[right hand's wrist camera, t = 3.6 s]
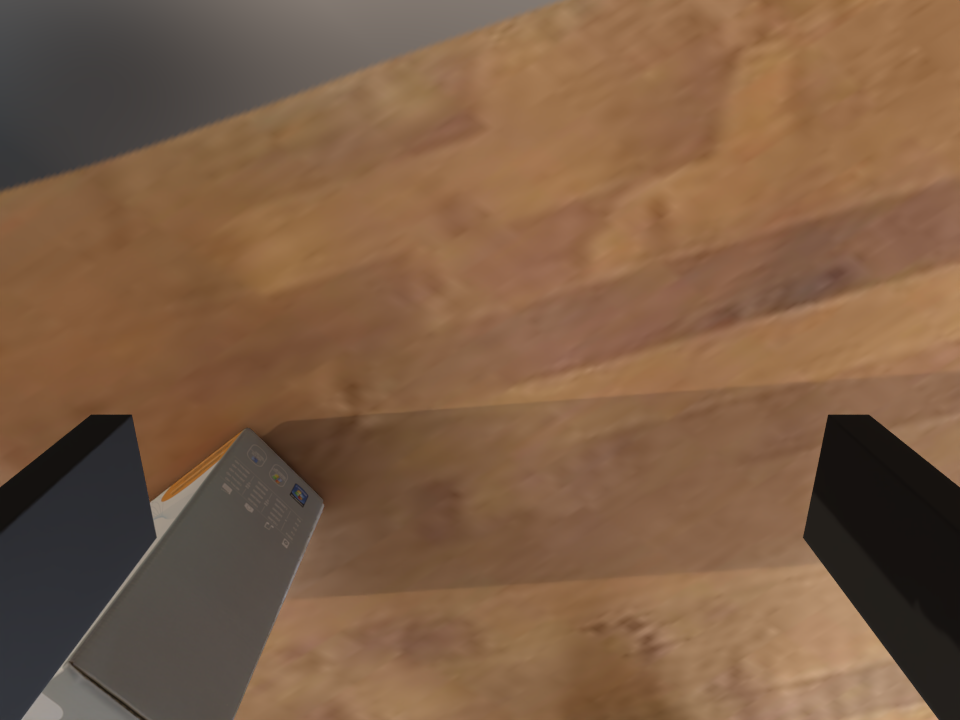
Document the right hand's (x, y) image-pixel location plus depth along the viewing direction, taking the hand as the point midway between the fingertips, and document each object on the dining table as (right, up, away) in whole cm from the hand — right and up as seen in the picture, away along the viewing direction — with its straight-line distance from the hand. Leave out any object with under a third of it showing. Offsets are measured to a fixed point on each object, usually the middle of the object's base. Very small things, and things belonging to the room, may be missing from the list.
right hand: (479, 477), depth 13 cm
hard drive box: (-19, -9, +33) cm, 39 cm away
